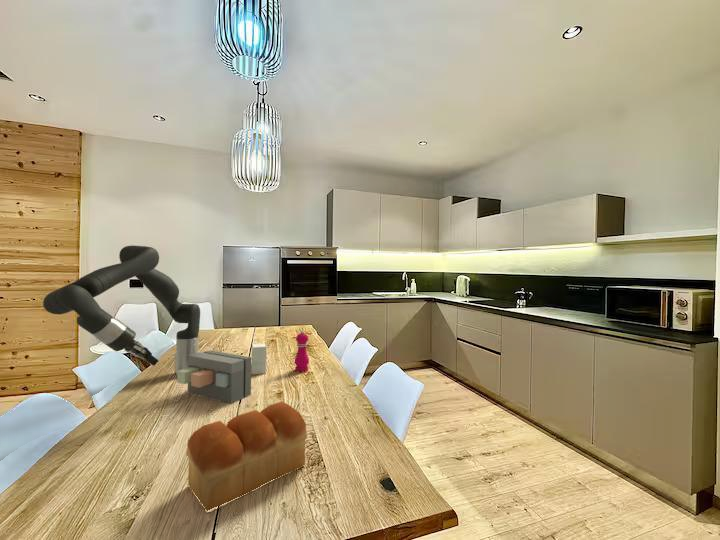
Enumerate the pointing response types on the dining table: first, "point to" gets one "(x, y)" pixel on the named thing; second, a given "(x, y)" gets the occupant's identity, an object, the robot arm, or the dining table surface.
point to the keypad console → (229, 364)
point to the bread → (245, 453)
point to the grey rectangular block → (222, 379)
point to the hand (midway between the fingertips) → (155, 362)
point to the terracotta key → (202, 378)
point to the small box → (258, 359)
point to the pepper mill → (301, 352)
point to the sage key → (186, 374)
